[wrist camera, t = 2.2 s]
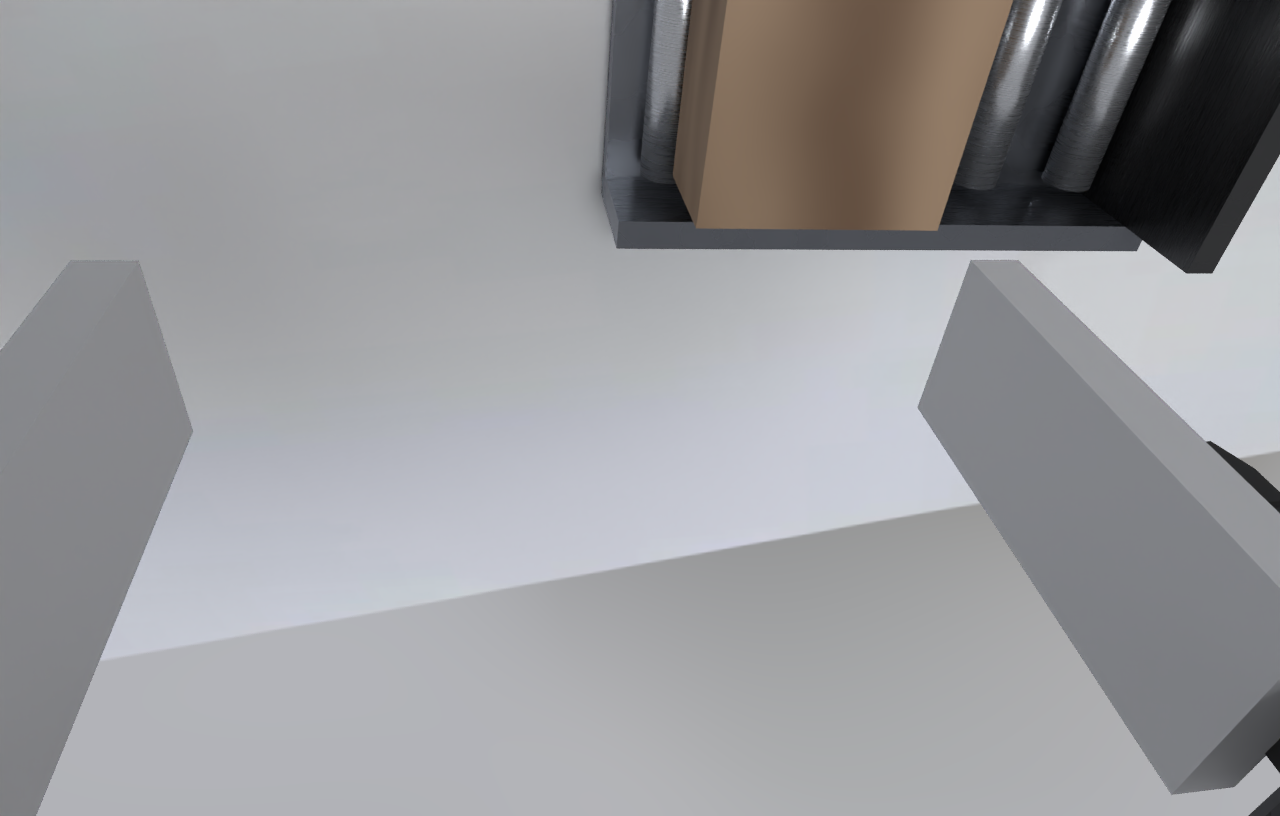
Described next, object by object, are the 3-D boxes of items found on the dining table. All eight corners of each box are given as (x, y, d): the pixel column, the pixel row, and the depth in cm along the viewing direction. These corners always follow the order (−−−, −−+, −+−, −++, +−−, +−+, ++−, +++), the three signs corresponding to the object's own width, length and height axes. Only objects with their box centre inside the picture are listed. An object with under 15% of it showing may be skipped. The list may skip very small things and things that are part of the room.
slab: (672, 175, 29) (695, 228, 26) (707, -135, 23) (743, -115, 20) (890, 179, 30) (937, 230, 27) (971, -112, 25) (1042, -90, 22)
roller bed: (601, 192, 32) (631, 301, 26) (626, -235, 24) (678, -225, 18) (1071, 200, 35) (1197, 298, 29) (1230, -173, 27) (1450, -146, 21)
